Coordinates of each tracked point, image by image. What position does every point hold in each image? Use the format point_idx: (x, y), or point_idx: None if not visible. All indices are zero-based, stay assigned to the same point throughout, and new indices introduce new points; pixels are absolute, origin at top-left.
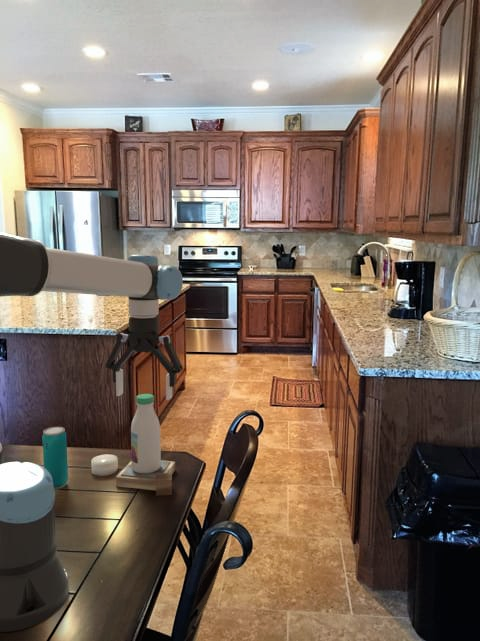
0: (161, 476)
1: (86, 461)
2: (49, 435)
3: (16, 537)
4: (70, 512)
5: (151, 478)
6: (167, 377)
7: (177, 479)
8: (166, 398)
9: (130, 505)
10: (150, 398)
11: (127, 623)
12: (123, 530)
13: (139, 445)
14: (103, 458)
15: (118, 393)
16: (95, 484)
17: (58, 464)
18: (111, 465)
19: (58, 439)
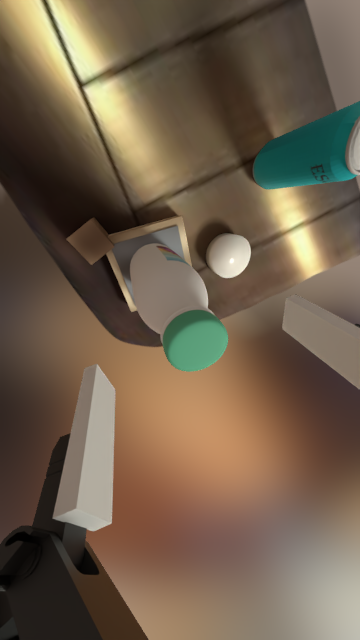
0: (94, 241)
1: (260, 262)
2: None
3: None
4: (190, 68)
5: (121, 241)
6: (67, 491)
7: (106, 284)
8: (93, 369)
9: (107, 158)
10: (167, 344)
11: None
12: (32, 26)
13: (157, 254)
14: (235, 260)
15: (295, 302)
16: (211, 204)
17: (288, 139)
18: (213, 250)
19: (342, 121)
